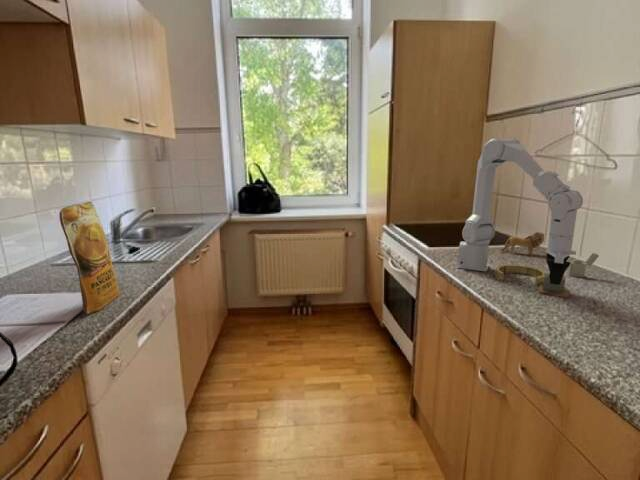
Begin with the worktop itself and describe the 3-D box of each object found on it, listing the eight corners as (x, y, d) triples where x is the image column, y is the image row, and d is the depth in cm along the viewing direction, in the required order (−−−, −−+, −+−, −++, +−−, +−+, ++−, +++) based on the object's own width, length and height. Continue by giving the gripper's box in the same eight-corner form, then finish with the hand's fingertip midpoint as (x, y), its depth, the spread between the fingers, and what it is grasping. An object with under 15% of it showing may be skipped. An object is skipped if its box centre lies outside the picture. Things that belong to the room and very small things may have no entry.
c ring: (493, 279, 116) (494, 272, 116) (498, 267, 129) (499, 260, 128) (545, 287, 109) (546, 279, 109) (545, 273, 122) (546, 265, 121)
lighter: (569, 275, 119) (572, 251, 117) (567, 274, 120) (571, 250, 119) (595, 278, 116) (599, 253, 114) (593, 276, 118) (597, 252, 116)
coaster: (539, 293, 104) (539, 291, 104) (539, 285, 110) (539, 284, 110) (568, 297, 101) (568, 295, 101) (567, 289, 107) (567, 287, 107)
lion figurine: (540, 253, 146) (543, 230, 144) (543, 256, 141) (546, 233, 139) (499, 250, 150) (501, 229, 148) (501, 253, 145) (503, 231, 143)
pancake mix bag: (66, 318, 93) (46, 209, 87) (105, 291, 112) (90, 199, 106) (93, 317, 94) (75, 208, 87) (128, 290, 112) (114, 199, 106)
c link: (542, 290, 105) (544, 277, 104) (542, 285, 109) (544, 273, 108) (563, 293, 103) (565, 279, 102) (562, 288, 106) (564, 275, 105)
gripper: (580, 241, 94) (573, 291, 97) (576, 231, 106) (570, 275, 109) (548, 238, 97) (542, 287, 100) (548, 229, 109) (542, 272, 112)
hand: (554, 281), depth 105 cm, fingers open, 5 cm apart
